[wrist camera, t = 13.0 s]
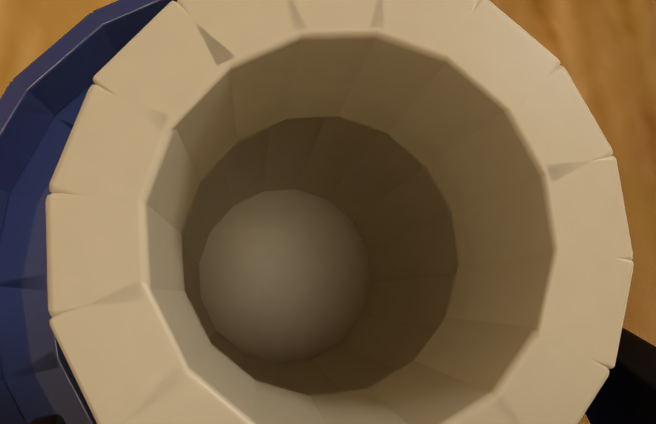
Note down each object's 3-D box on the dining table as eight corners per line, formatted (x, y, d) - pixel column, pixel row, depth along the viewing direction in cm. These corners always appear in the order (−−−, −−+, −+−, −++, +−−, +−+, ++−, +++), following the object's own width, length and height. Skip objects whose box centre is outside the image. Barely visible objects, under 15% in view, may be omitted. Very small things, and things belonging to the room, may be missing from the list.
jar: (385, 358, 18) (679, 497, 6) (196, 381, 17) (49, 607, 5) (366, 177, 19) (583, -46, 6) (185, 190, 18) (36, -43, 5)
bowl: (416, 628, 17) (472, 744, 13) (-94, 417, 16) (-224, 463, 12) (580, 161, 20) (670, 124, 16) (168, -40, 19) (143, -138, 15)
